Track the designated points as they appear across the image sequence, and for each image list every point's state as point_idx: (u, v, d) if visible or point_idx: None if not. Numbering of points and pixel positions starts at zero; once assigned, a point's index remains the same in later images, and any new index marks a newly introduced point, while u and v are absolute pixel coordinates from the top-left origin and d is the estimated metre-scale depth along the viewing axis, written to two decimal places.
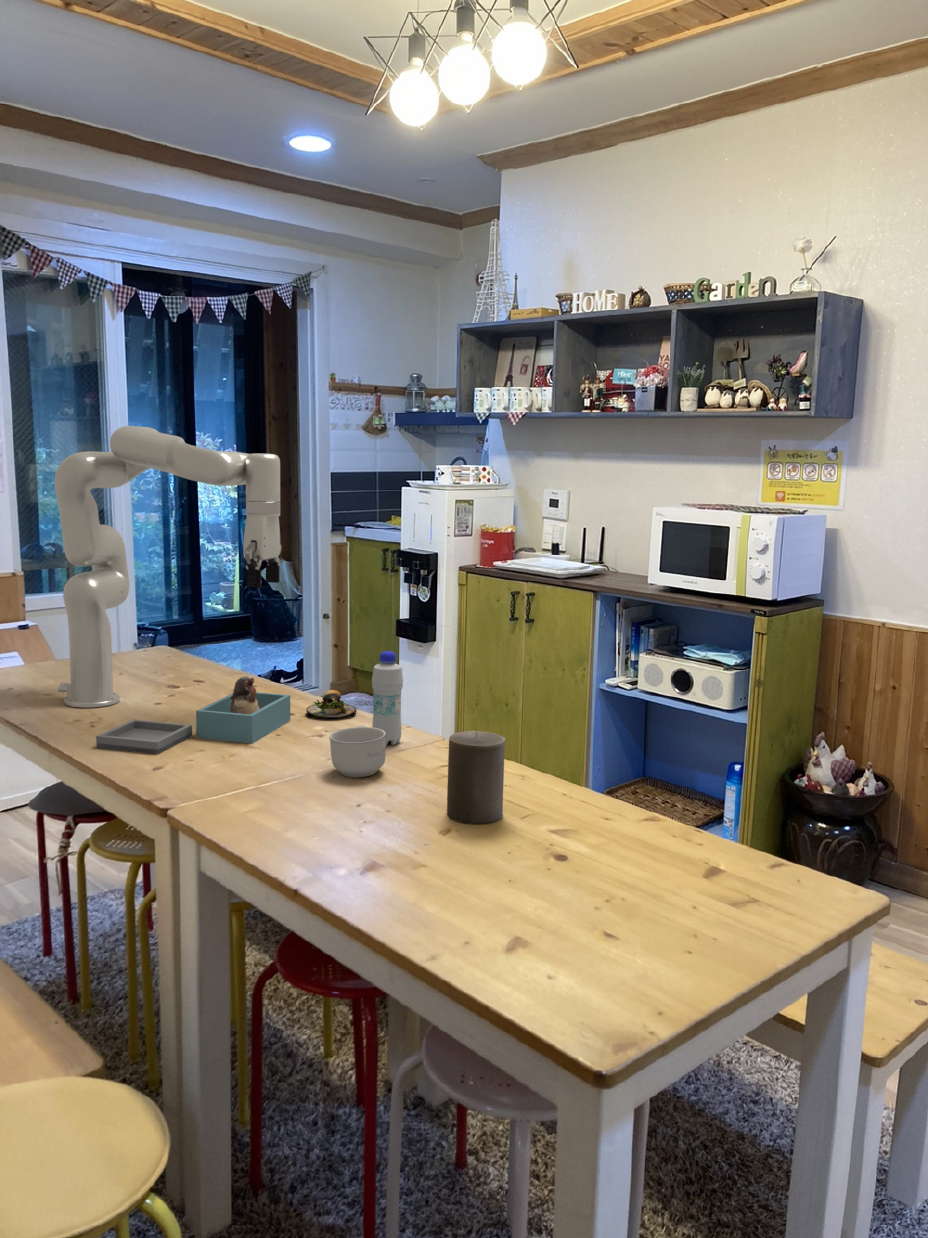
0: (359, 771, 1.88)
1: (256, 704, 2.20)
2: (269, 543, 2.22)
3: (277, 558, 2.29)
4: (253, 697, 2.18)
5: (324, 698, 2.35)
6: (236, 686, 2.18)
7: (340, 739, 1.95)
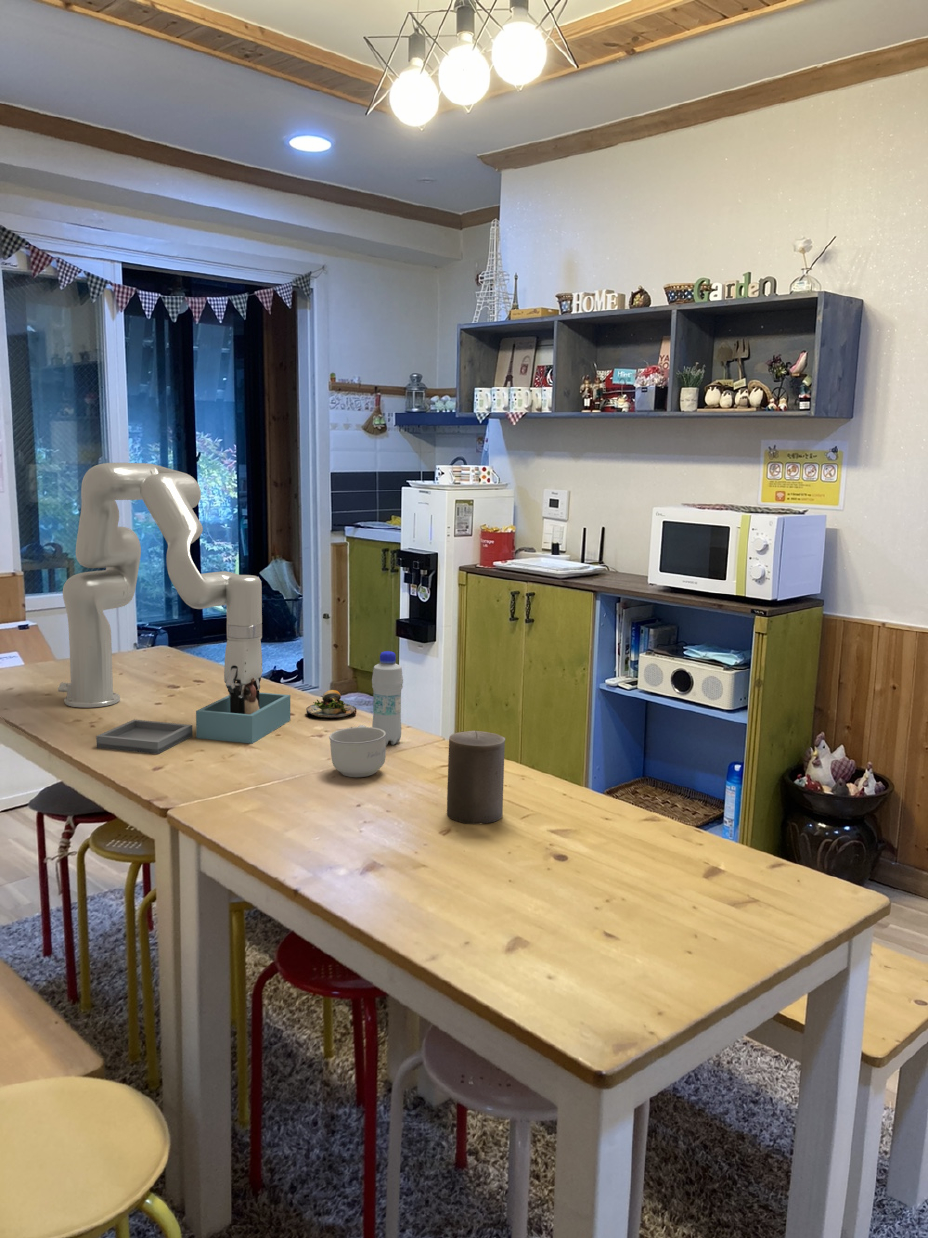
0: (359, 771, 1.88)
1: (256, 704, 2.20)
2: (250, 667, 2.16)
3: (257, 683, 2.23)
4: (253, 697, 2.18)
5: (324, 698, 2.35)
6: None
7: (340, 739, 1.95)
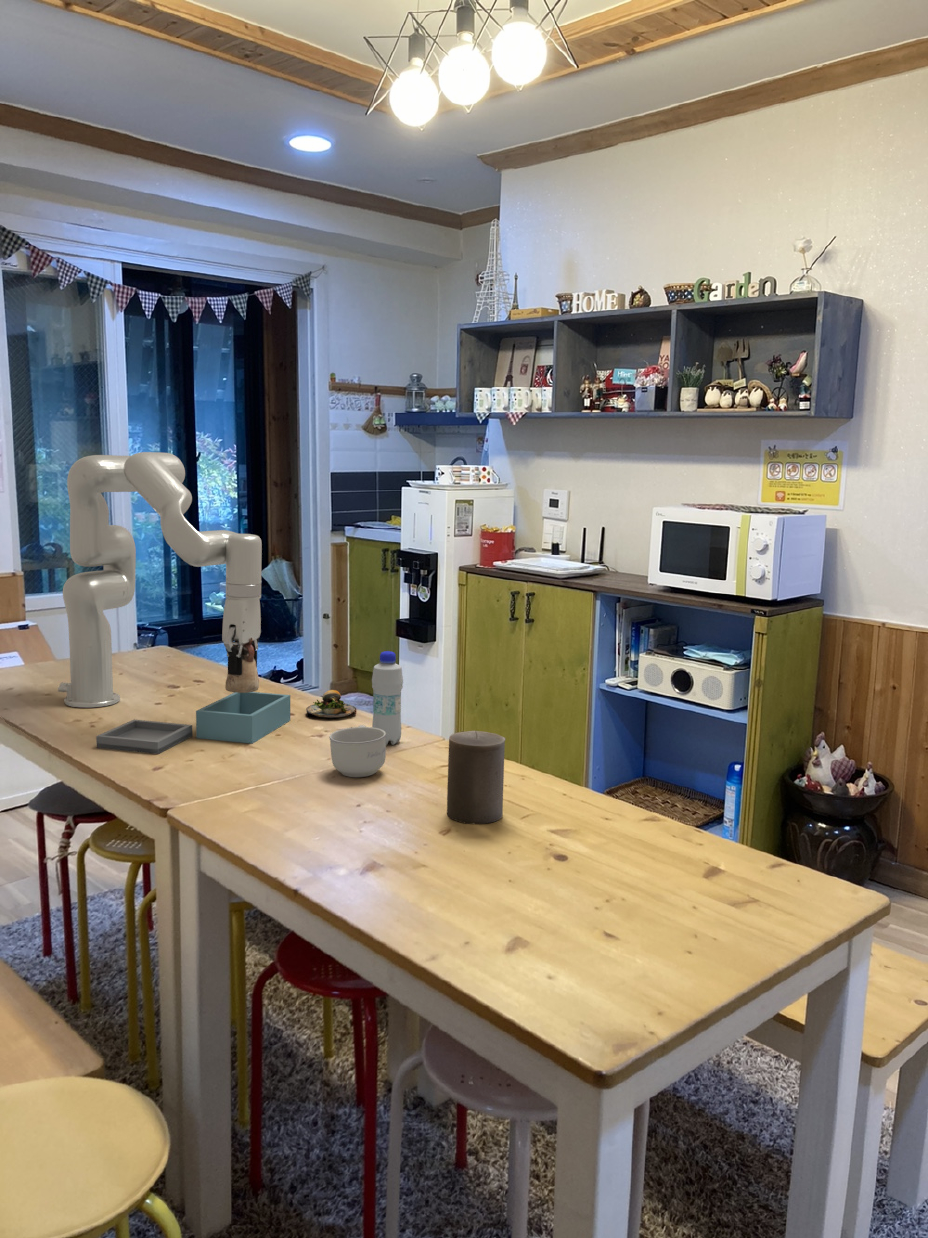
0: (359, 771, 1.88)
1: (254, 664, 2.18)
2: (249, 627, 2.15)
3: (255, 643, 2.21)
4: (251, 657, 2.17)
5: (324, 698, 2.35)
6: None
7: (340, 739, 1.95)
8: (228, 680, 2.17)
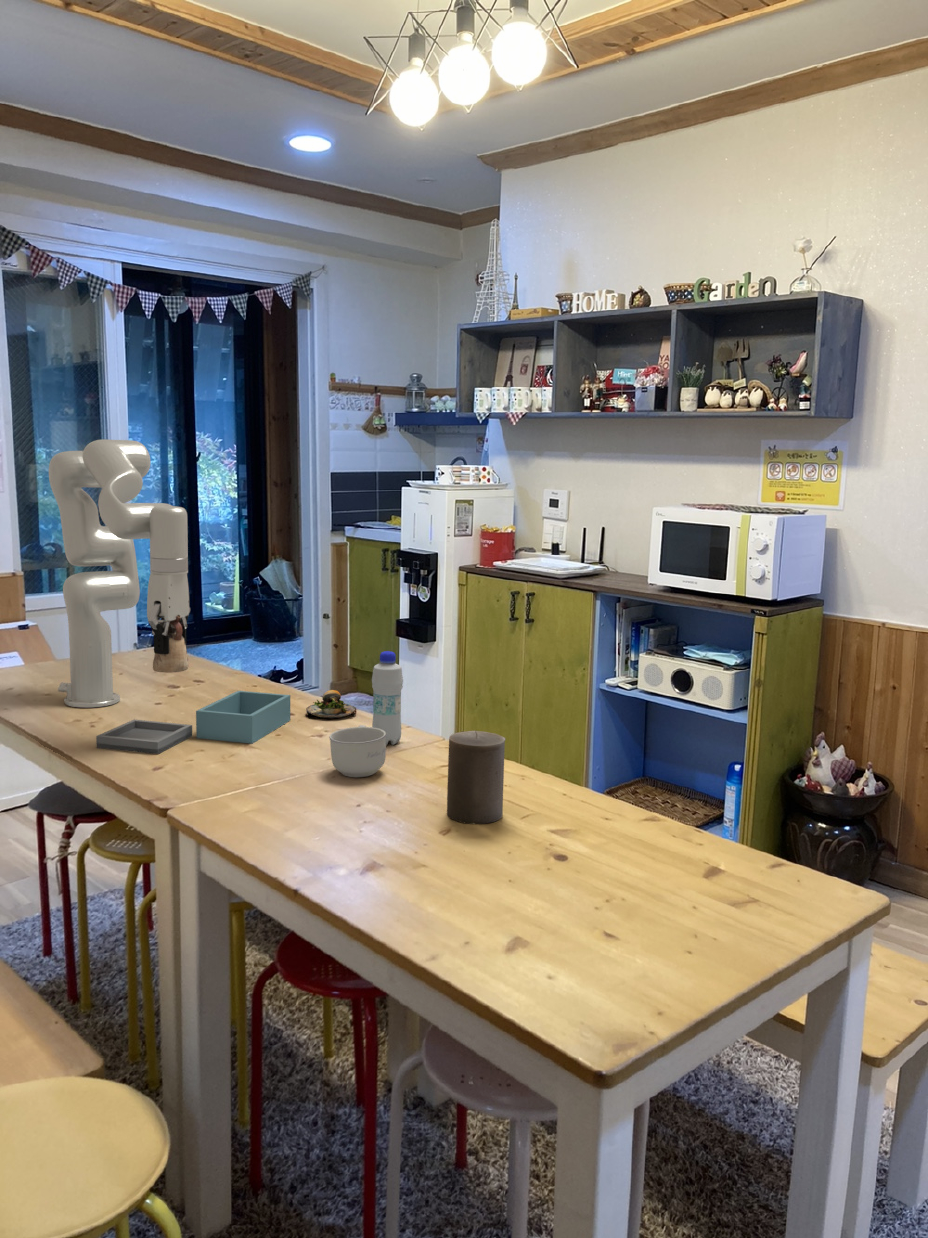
0: (359, 771, 1.88)
1: (182, 643, 2.09)
2: (175, 603, 2.05)
3: (183, 621, 2.11)
4: (179, 635, 2.07)
5: (324, 698, 2.35)
6: None
7: (340, 739, 1.95)
8: (155, 660, 2.07)
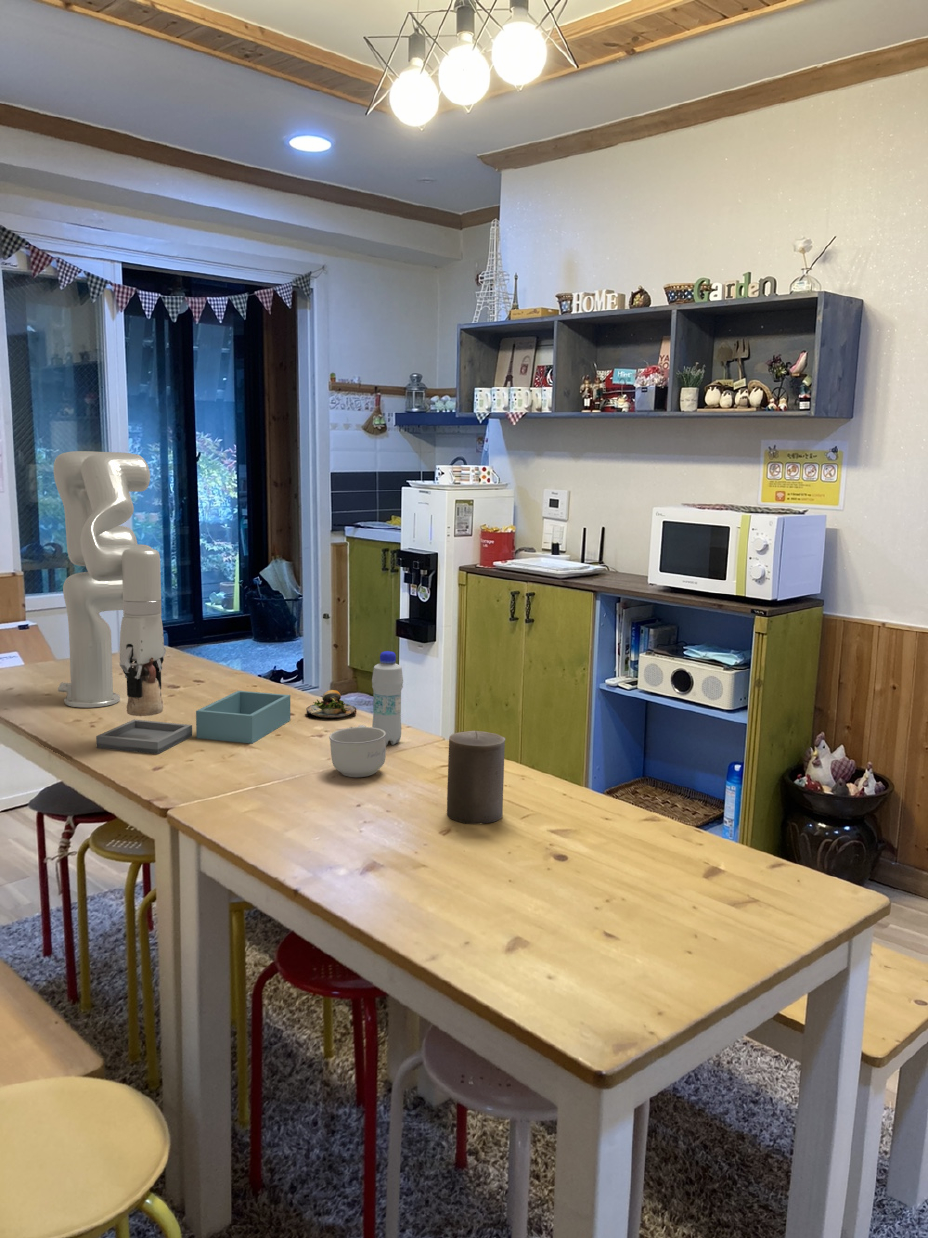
0: (359, 771, 1.88)
1: (156, 685, 2.07)
2: (148, 646, 2.03)
3: (158, 664, 2.10)
4: (152, 678, 2.05)
5: (324, 698, 2.35)
6: None
7: (340, 739, 1.95)
8: (129, 703, 2.05)
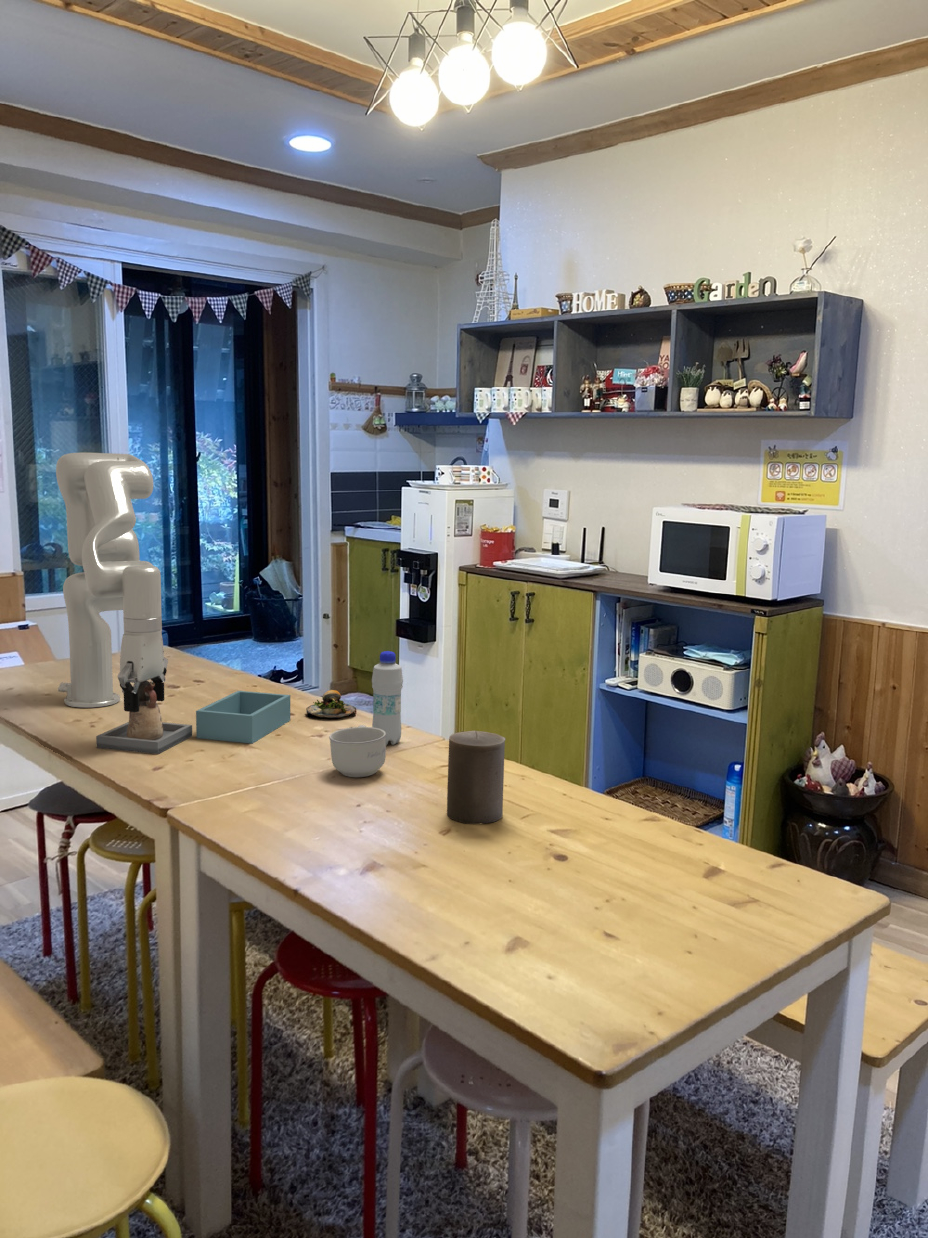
0: (359, 771, 1.88)
1: (157, 710, 2.08)
2: (148, 663, 2.04)
3: (161, 675, 2.11)
4: (153, 703, 2.06)
5: (324, 698, 2.35)
6: None
7: (340, 739, 1.95)
8: (129, 728, 2.06)
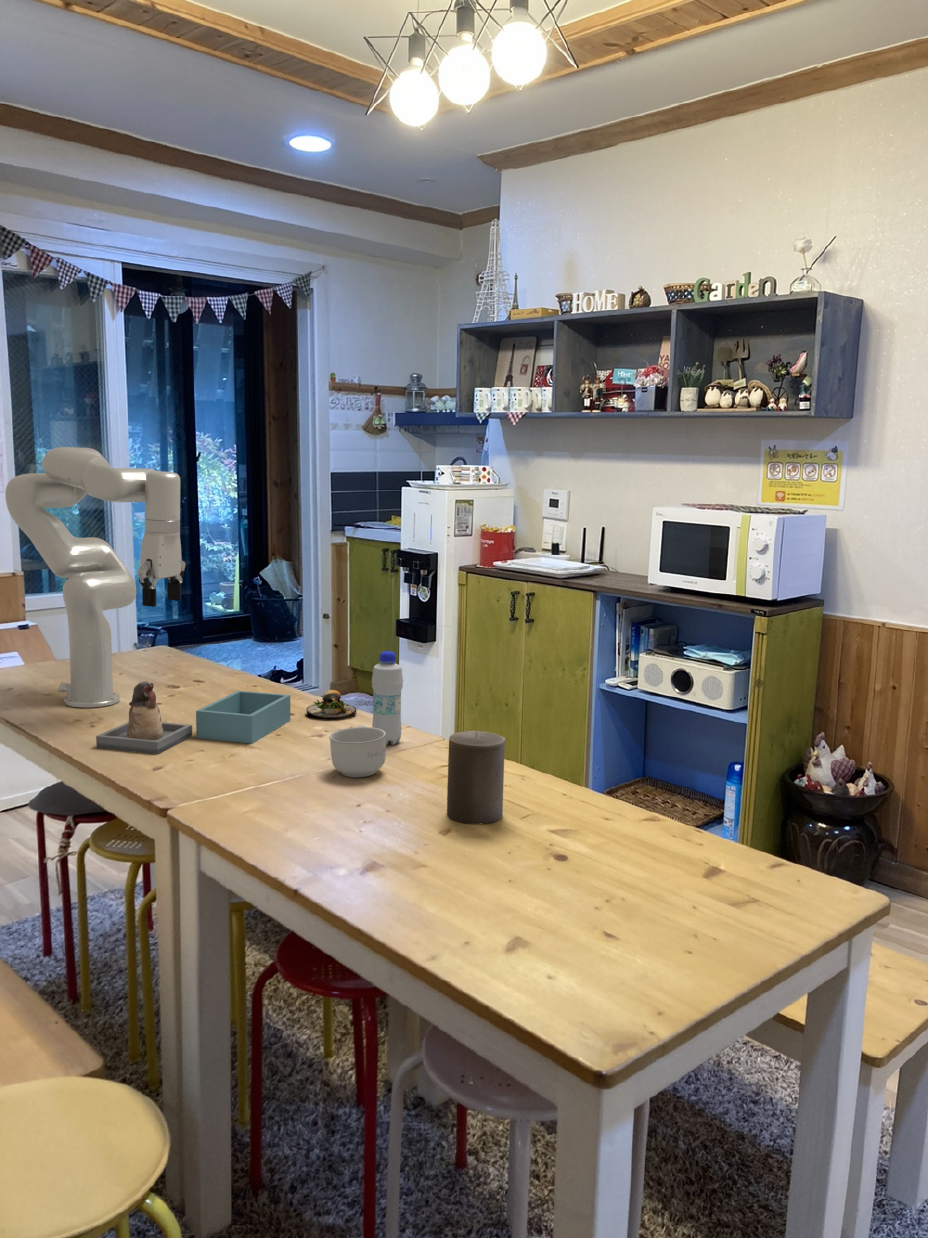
0: (359, 771, 1.88)
1: (156, 711, 2.08)
2: (166, 562, 2.20)
3: (178, 576, 2.28)
4: (152, 703, 2.06)
5: (324, 698, 2.35)
6: (134, 692, 2.06)
7: (340, 739, 1.95)
8: (129, 728, 2.06)
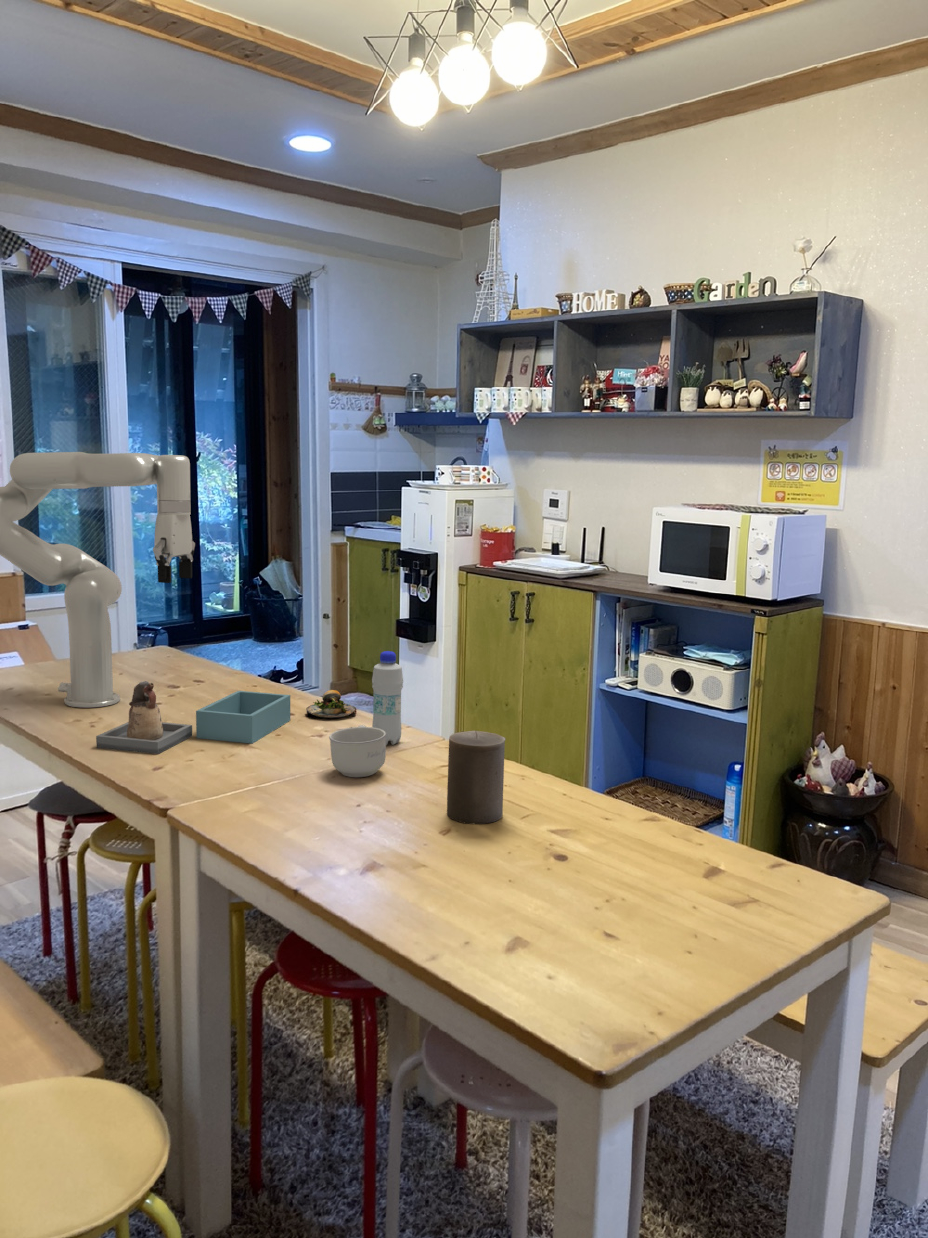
0: (359, 771, 1.88)
1: (156, 711, 2.08)
2: (179, 540, 2.33)
3: (189, 555, 2.40)
4: (152, 703, 2.06)
5: (324, 698, 2.35)
6: (134, 692, 2.06)
7: (340, 739, 1.95)
8: (129, 728, 2.06)
